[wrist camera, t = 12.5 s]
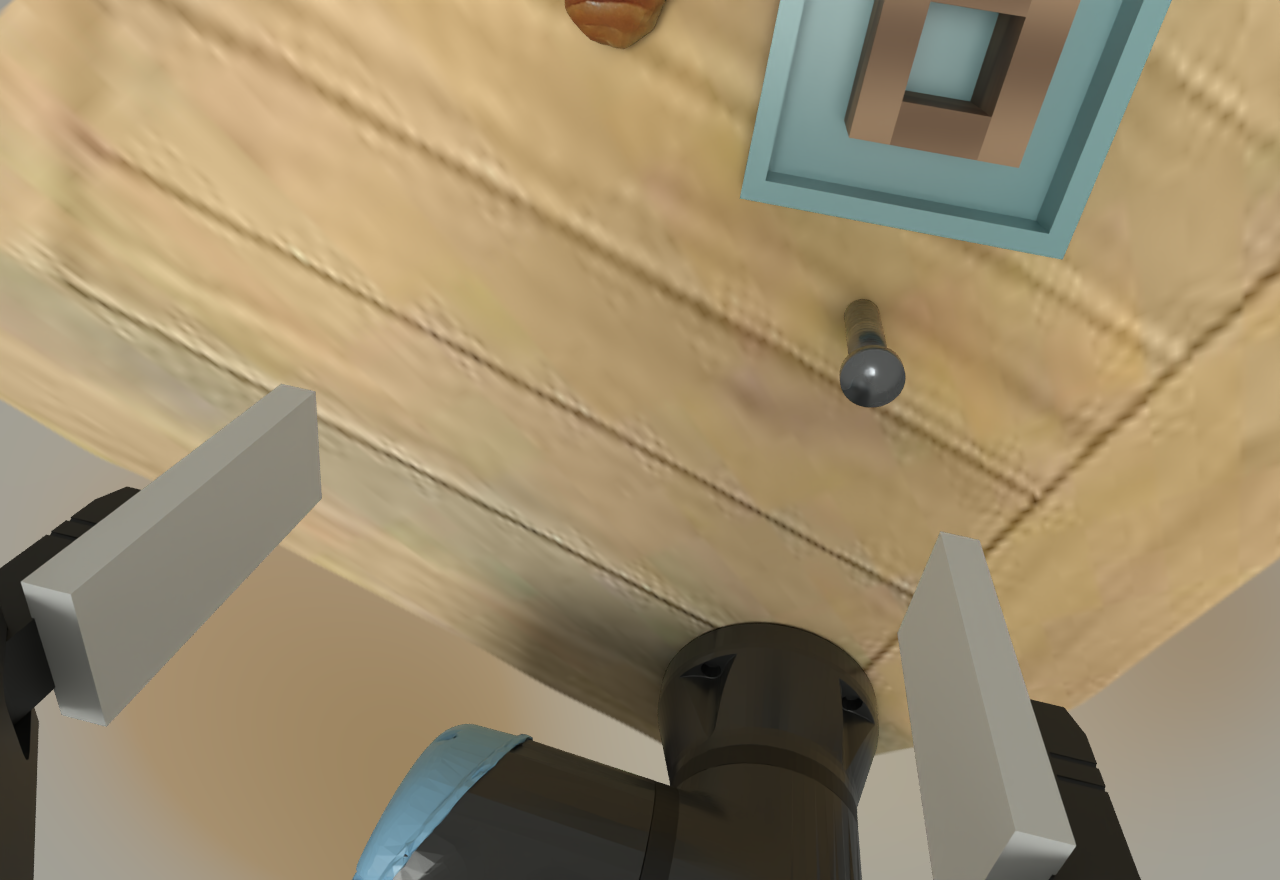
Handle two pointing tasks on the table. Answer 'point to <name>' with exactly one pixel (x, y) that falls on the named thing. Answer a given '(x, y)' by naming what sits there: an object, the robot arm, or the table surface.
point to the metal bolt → (869, 359)
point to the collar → (1003, 95)
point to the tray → (948, 67)
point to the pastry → (615, 19)
